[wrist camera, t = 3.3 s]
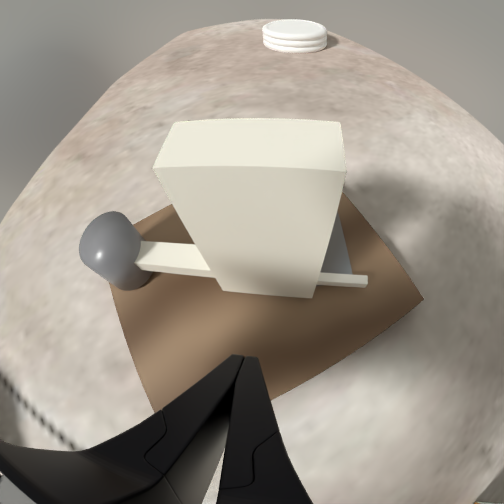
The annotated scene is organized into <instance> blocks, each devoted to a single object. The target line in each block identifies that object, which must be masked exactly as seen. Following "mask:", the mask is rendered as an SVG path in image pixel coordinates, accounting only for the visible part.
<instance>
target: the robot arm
mask: <svg viewBox="0 0 504 504" xmlns="http://www.w3.org/2000/svg"><path fill="white" fill-rule="evenodd" d="M224 448H225V452H224V458H223V465H222V471H221V478H220V484H219V491H218V497H217V502H216V504H313V503H312V501H311V499H310V497H309V496H308V494H307V492H306V490H305V488H304V486H303V485H302V483H301V481H300V479H299V477H298V475H297V473H296V471H295V470H294V468H293V465H292V463H291V461H290V459H289V457H288V454H287V452H286V449H285V446H284V443H283V440H282V437H281V434H280V432H279V427H278V424H277V421H276V417H275V414H274V411H273V407H272V404H271V400H270V397H269V394H268V390H267V387H266V383H265V380H264V376H263V373H262V369H261V366H260V362H259V359H258V357H253V356H246V357H245V356H244V355H238V354H232V355H230V356H229V357H228V358H227V359H225V360H224V361H223V362H222V363H220V364H219V365H218V366H217V367H215V368H214V369H213V370H212V371H210V372H209V373H208V374H207V375H205V376H204V377H203V378H201V379H200V380H199V381H198V382H196V383H195V384H194V385H192V386H191V387H190V388H188V389H187V390H186V391H185V392H183V393H182V394H181V395H179V396H178V397H177V398H175V399H174V400H172V401H171V402H170V403H168V404H167V405H166V406H164V407H163V408H162V410H159V411H157V412H156V413H154V414H153V415H152V416H150V417H149V418H147V419H146V420H144V421H143V422H141V423H139V424H138V425H136V426H134V427H132V428H131V429H129V430H127V431H125V432H123V433H121V434H119V435H117V436H115V437H113V438H111V439H109V440H107V441H105V442H103V443H101V444H99V445H97V446H94V447H92V448H89V449H86V450H82V451H55V450H44V449H35V448H27V447H20V446H15V445H12V444H9V443H6V442H4V441H2V440H1V439H0V472H1V473H2V474H3V475H1V474H0V504H202V502H203V499H204V497H205V495H206V492H207V490H208V487H209V485H210V483H211V480H212V478H213V475H214V473H215V471H216V468H217V466H218V463H219V461H220V458H221V456H222V453H223V451H224Z"/></svg>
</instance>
